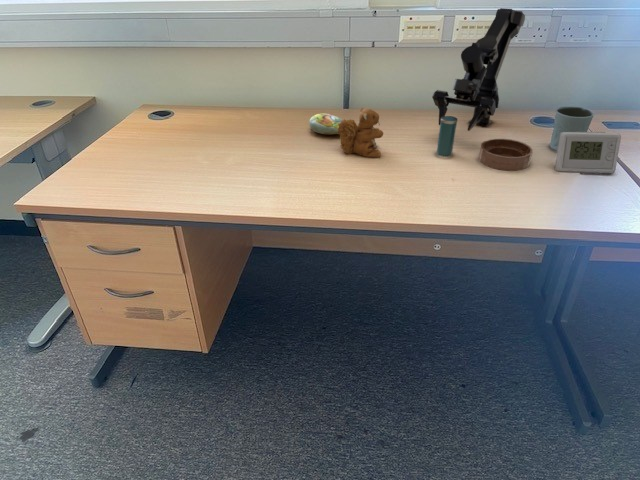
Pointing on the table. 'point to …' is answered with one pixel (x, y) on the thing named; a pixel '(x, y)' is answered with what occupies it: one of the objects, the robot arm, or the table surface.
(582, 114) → the grey-green cup
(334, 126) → the decorated easter egg
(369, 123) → the stuffed squirrel
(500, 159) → the bowl
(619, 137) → the digital clock
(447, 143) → the tin
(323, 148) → the table surface
